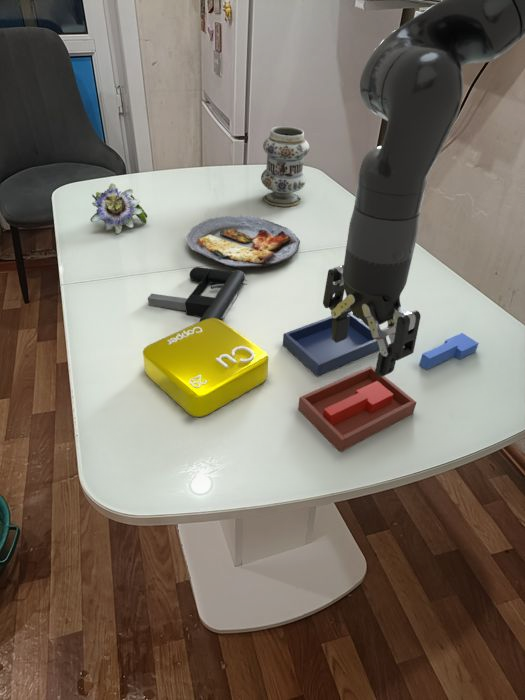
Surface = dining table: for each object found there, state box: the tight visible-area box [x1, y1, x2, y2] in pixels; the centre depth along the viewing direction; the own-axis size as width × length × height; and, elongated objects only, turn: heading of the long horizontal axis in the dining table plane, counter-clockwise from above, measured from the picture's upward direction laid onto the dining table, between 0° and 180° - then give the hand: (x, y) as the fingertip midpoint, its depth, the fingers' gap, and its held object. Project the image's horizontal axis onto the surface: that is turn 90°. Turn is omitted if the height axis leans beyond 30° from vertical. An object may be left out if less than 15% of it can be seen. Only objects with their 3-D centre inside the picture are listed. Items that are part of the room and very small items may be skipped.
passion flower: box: [89, 182, 148, 235], centre depth 120 cm, size 11×11×12 cm
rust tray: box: [297, 365, 417, 453], centre depth 75 cm, size 14×10×2 cm
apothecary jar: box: [260, 125, 310, 208], centre depth 133 cm, size 12×12×18 cm
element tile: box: [142, 318, 269, 418], centre depth 80 cm, size 15×15×5 cm
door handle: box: [147, 266, 248, 322], centre depth 97 cm, size 3×20×16 cm
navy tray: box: [282, 312, 380, 377], centre depth 87 cm, size 14×10×2 cm
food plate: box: [185, 215, 301, 269], centre depth 115 cm, size 25×23×4 cm
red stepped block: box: [323, 381, 394, 426], centre depth 75 cm, size 11×4×2 cm, turn 123°
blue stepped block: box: [418, 332, 480, 371], centre depth 86 cm, size 11×4×2 cm, turn 123°
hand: (359, 356), depth 68 cm, fingers open, 8 cm apart
